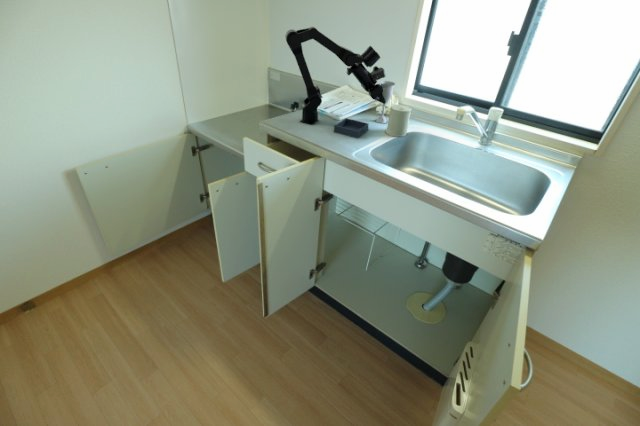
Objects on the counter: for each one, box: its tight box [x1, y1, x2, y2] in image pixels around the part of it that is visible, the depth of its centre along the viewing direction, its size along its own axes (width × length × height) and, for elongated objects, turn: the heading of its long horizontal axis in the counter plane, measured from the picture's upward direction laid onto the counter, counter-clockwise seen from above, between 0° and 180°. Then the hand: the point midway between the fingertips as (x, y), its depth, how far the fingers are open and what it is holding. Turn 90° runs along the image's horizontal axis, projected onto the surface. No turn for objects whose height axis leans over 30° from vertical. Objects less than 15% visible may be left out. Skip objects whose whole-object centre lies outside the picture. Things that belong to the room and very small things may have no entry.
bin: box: [333, 117, 370, 139], centre depth 147 cm, size 12×12×3 cm
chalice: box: [375, 80, 396, 124], centre depth 155 cm, size 7×7×18 cm
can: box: [385, 104, 412, 138], centre depth 145 cm, size 9×9×12 cm
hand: (382, 100), depth 154 cm, fingers open, 9 cm apart
